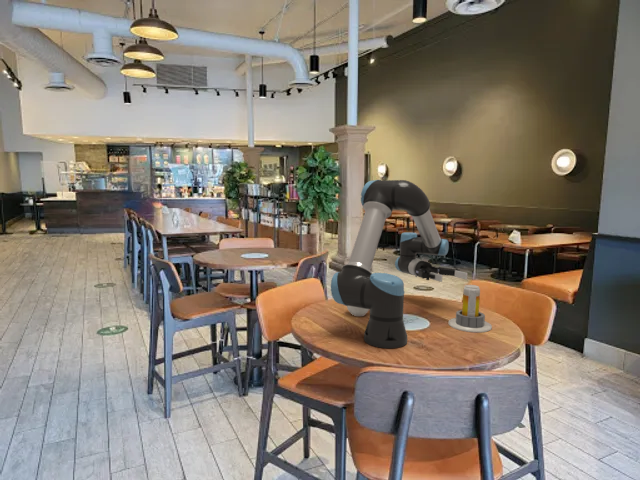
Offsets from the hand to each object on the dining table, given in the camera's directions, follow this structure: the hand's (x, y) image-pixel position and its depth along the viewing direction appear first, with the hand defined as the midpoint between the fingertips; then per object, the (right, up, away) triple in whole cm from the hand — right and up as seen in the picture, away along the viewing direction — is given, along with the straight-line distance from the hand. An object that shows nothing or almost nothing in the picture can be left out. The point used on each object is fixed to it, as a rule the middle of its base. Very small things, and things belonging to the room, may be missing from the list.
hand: (454, 277), depth 173 cm
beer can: (+4, -18, -7) cm, 20 cm away
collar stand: (+4, -18, -7) cm, 20 cm away
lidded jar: (-39, -17, +7) cm, 43 cm away
